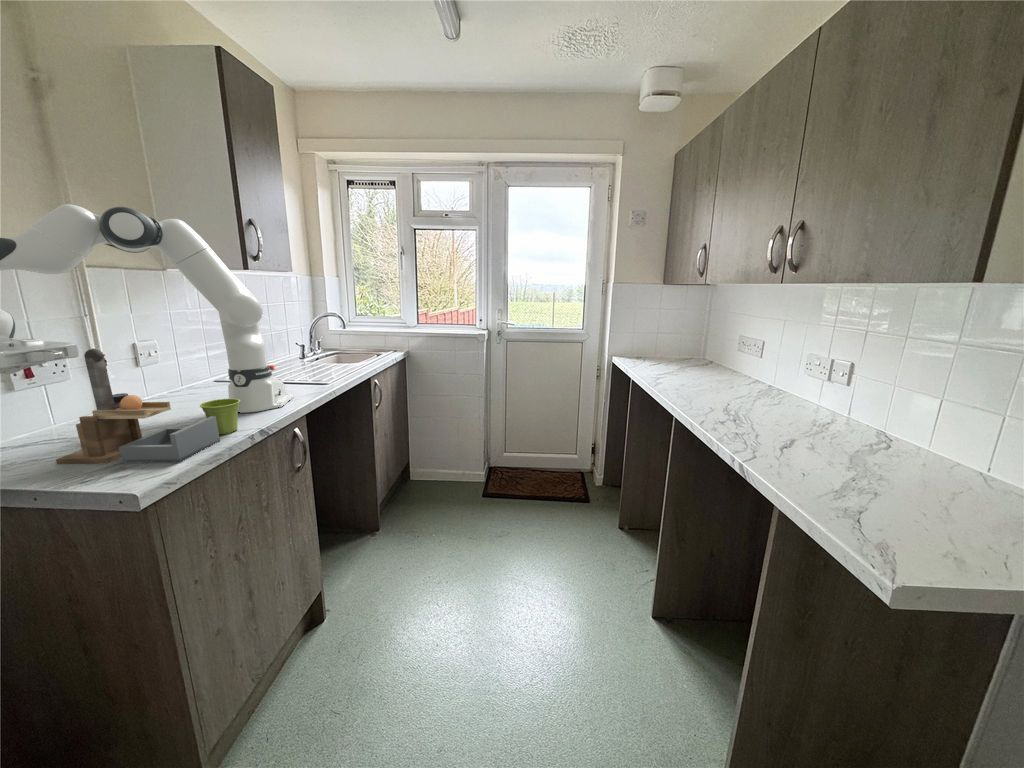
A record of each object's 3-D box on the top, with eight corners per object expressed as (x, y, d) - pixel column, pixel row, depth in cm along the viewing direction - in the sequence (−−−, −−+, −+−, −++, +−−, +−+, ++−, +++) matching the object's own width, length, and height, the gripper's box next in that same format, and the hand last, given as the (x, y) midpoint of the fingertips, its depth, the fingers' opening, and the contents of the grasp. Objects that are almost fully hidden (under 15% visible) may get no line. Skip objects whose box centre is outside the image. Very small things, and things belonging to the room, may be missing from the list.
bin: (169, 441, 112) (163, 417, 110) (220, 441, 112) (215, 416, 110) (122, 463, 98) (115, 435, 96) (180, 462, 98) (174, 434, 97)
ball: (132, 408, 104) (128, 393, 103) (148, 408, 104) (144, 393, 103) (117, 413, 100) (114, 397, 99) (134, 413, 100) (130, 397, 99)
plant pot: (237, 424, 126) (233, 396, 124) (249, 430, 120) (244, 401, 118) (200, 432, 119) (195, 403, 117) (211, 439, 113) (205, 409, 111)
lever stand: (111, 442, 111) (102, 403, 109) (156, 442, 111) (148, 402, 109) (56, 464, 98) (44, 419, 95) (108, 463, 98) (97, 418, 95)
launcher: (117, 412, 107) (102, 346, 103) (172, 411, 107) (159, 346, 103) (84, 423, 98) (66, 352, 94) (144, 422, 98) (129, 351, 95)
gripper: (-62, 348, 89) (3, 348, 89) (42, 338, 109) (95, 337, 109) (-53, 377, 90) (11, 377, 90) (48, 361, 110) (101, 361, 110)
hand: (58, 355), depth 100 cm, fingers closed
